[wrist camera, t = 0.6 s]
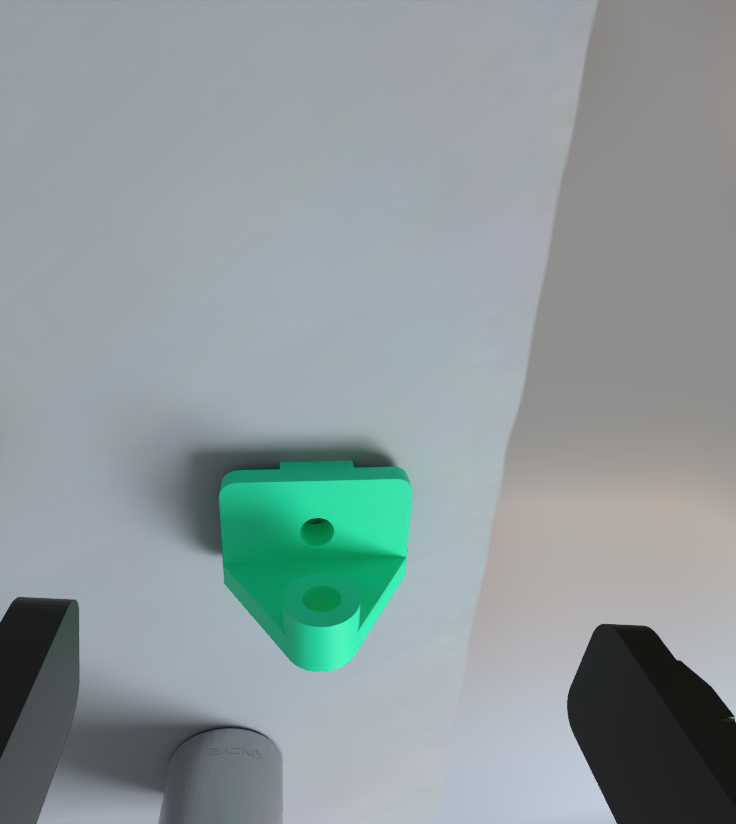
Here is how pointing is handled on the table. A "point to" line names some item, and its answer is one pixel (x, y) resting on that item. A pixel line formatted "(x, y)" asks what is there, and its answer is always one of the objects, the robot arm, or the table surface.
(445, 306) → the table surface
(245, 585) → the camera mount
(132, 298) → the table surface
